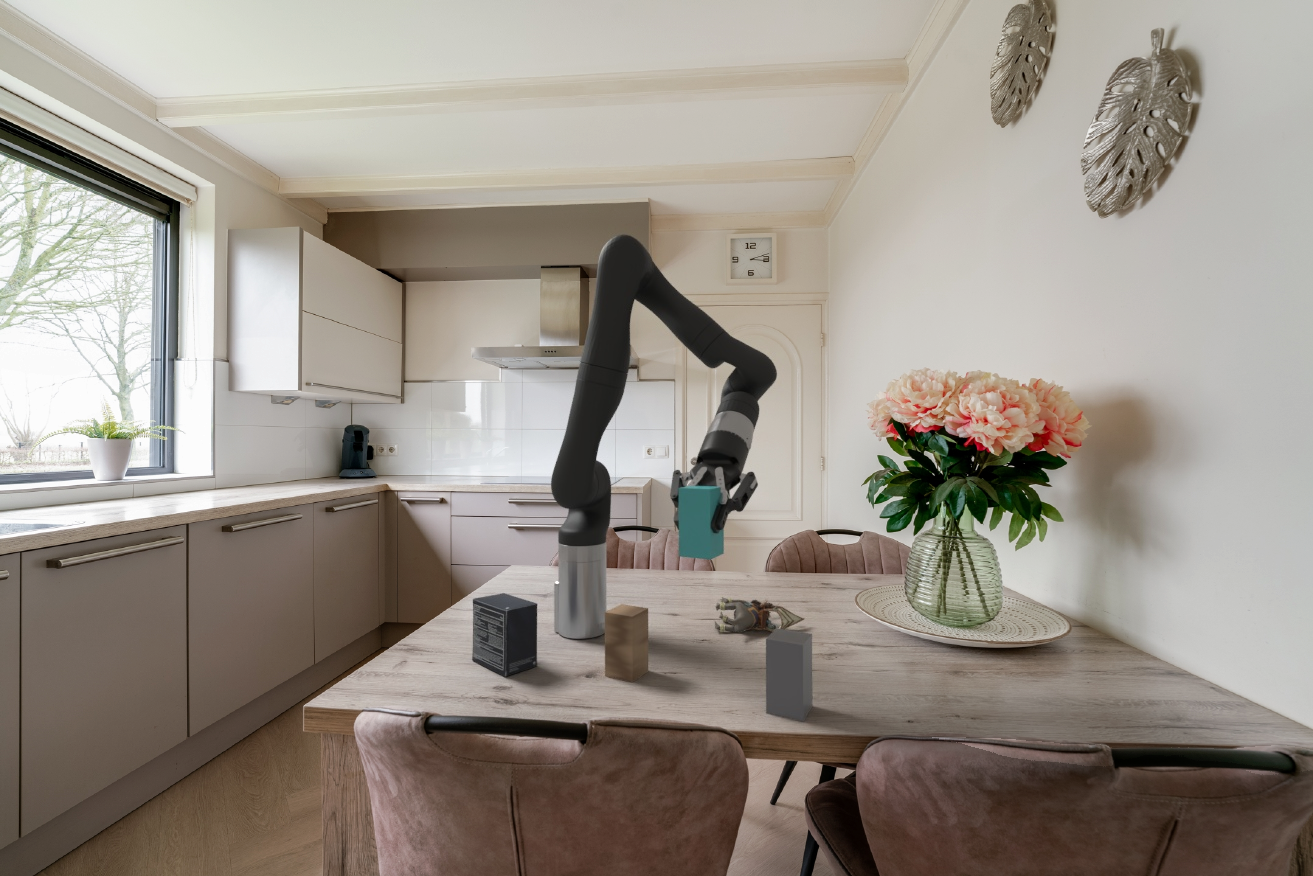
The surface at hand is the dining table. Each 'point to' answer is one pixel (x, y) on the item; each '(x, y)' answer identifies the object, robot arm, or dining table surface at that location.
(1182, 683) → the dining table surface
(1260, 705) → the dining table surface
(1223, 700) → the dining table surface
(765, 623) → the figurine
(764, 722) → the dining table surface
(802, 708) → the charcoal block
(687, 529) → the teal block
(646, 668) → the walnut block
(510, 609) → the small box
